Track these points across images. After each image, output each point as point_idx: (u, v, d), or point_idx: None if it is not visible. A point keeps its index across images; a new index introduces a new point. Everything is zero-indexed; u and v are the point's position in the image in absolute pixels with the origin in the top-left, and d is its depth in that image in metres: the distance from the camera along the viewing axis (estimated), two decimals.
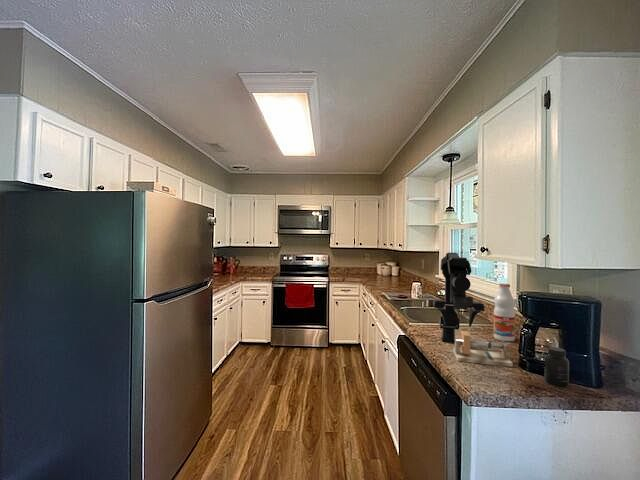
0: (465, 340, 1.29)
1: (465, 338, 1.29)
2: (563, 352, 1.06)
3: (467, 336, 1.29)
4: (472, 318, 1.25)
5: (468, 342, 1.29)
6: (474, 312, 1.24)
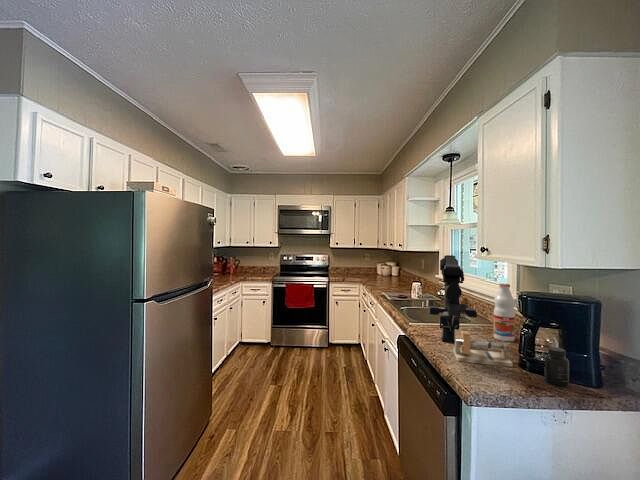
0: (465, 340, 1.29)
1: (465, 338, 1.29)
2: (563, 352, 1.06)
3: (467, 336, 1.29)
4: (454, 323, 1.32)
5: (468, 342, 1.29)
6: (456, 318, 1.31)
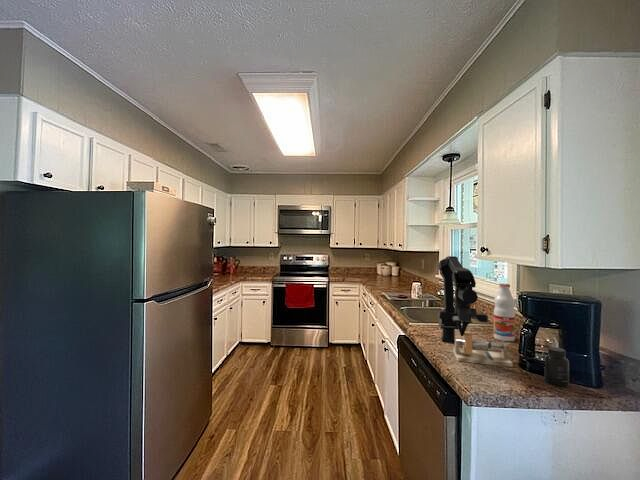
0: (467, 340, 1.29)
1: (467, 338, 1.29)
2: (563, 352, 1.06)
3: (469, 336, 1.29)
4: (464, 328, 1.31)
5: (470, 342, 1.29)
6: (466, 322, 1.30)
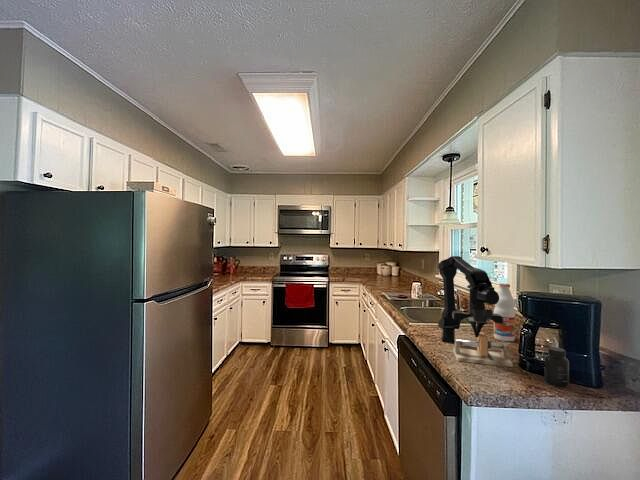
0: (482, 341, 1.27)
1: (482, 339, 1.27)
2: (563, 352, 1.06)
3: (484, 337, 1.27)
4: (479, 329, 1.30)
5: (485, 344, 1.27)
6: (481, 323, 1.28)
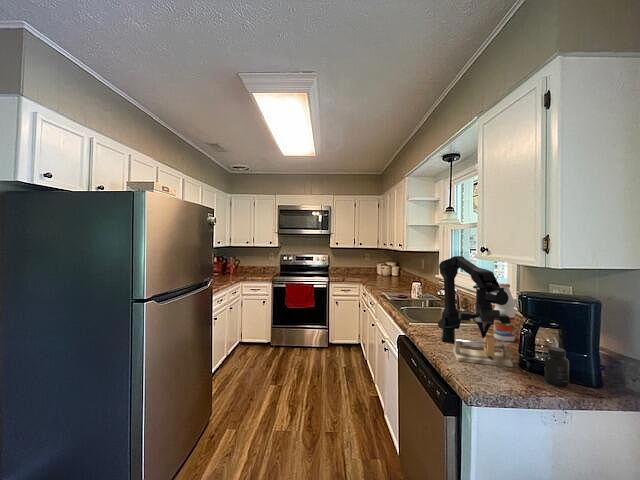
0: (489, 342, 1.27)
1: (489, 340, 1.27)
2: (563, 352, 1.06)
3: (491, 338, 1.26)
4: (486, 329, 1.29)
5: (492, 344, 1.26)
6: (488, 324, 1.28)
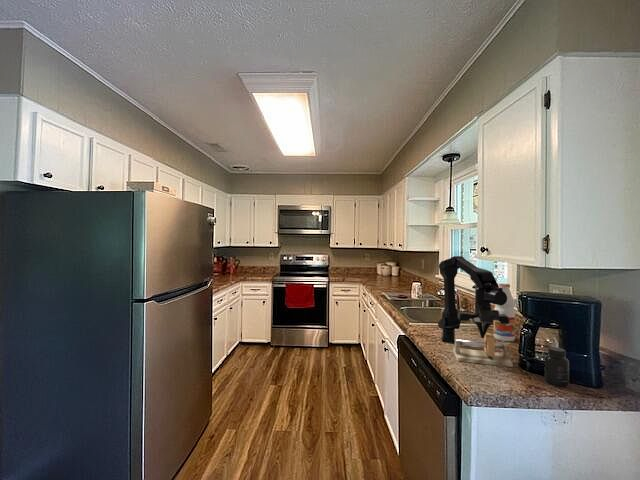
0: (489, 342, 1.27)
1: (489, 340, 1.27)
2: (563, 352, 1.06)
3: (491, 338, 1.26)
4: (485, 330, 1.29)
5: (492, 344, 1.26)
6: (487, 324, 1.28)
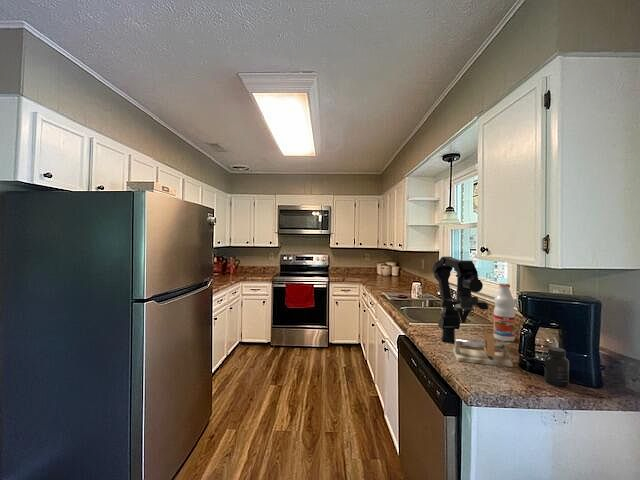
0: (489, 342, 1.27)
1: (489, 340, 1.27)
2: (563, 352, 1.06)
3: (491, 338, 1.26)
4: (466, 315, 1.38)
5: (492, 344, 1.26)
6: (468, 310, 1.36)
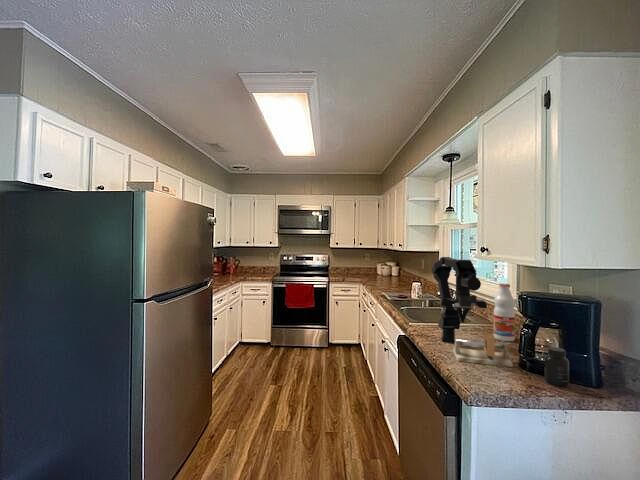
0: (489, 342, 1.27)
1: (489, 340, 1.27)
2: (563, 352, 1.06)
3: (491, 338, 1.26)
4: (465, 314, 1.39)
5: (492, 344, 1.26)
6: (466, 309, 1.37)
